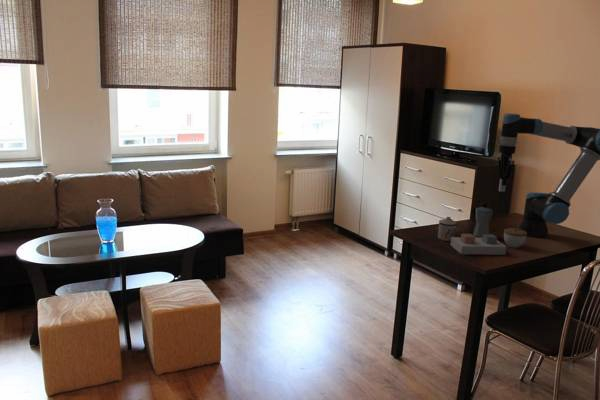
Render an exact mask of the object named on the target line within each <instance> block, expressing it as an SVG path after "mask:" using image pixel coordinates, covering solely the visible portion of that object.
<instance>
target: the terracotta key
mask: <svg viewBox="0 0 600 400" xmlns="http://www.w3.org/2000/svg"><path fill="white" fill-rule="evenodd" d="M460 237H461V241H462V242H463V243H464V244H475V238H476V236H473V234H472V233H461V234H460Z"/></svg>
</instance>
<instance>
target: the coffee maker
mask: <svg viewBox="0 0 600 400" xmlns="http://www.w3.org/2000/svg"><path fill="white" fill-rule="evenodd" d="M487 206H488V203H487V202H483V203H482V206H474V207H473V208H472V214H473V217H474V221H476V222H475V225H474V228H473V229H474V230H473V232H472V233H473V234H472V235H473V236H475V238H483V234H490V224H489V223H490V222H491V219H492V215H493V212H494V210H493V209H491V208H488V207H487Z"/></svg>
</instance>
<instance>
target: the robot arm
mask: <svg viewBox="0 0 600 400" xmlns="http://www.w3.org/2000/svg"><path fill="white" fill-rule="evenodd" d="M519 134H526V135H533V136H537V137H543V138H547V139H551V140H552V139H553V140H557V141H563V142H565V143H566V144H568V145H572V146H575V147H578V148H579V149H580V153H579V155H578V156H577V158H576V159H575V161H574V162H573V163H572V165H571V166H570V168H569V169H568V171H567V172H566V174H565V175H564V177H563V178H562V179H561V181H560V182H559V184H558V185H557V187H556V188H555V190H553V192H552V191H551V192H547V193H546V192H528V193H526V197H525V203H524V208H523V209H524V210H523V211H524V212H523V216H522V217H523V218H522V220H521V222H520V224H519V226H518V228H517V229H520V230H523V231H526V232H527V235H526V237H531V238H547V237H548V235H549V229H548V226H547V225H548V224H552V225H559V224H562V223H563V222H565V221H566V220H567V219H568V218H569V216H570V207H571V205H572V203H571V200H572V198H573V196H574V195H575V193H576V192H577V191H578V189H579V188H580V186H581V185H582V183H583V182H584V181H585V179H586V178H587V176H588V175H589V174H590V172H591V171H592V169H593V167H595V165H596V163H597V162H598V161H600V128H599V127H591V126H590V127H589V126H575V125H570V126H566V125H561V124H557V123H556V124H555V123H552V122H551V123H550V122H546V121H543V120H542V119H540V118H530V117H529V118H528V117H523V116H521V115H520V114H519V113H505V114H504V115H503V118H502V126H501V134H500V141H499V142H500V143H499V144H500V145H499V147H498V148H499V149H498V152H499V153H501V154H500V156H498V157H497V161H498V163H497V169H498V170H497V176H498V177H499V185H498V192H501V193H502V192H505V193H506V188H507V187H506V186H507V180H508V179H510V177H511V174H512V169H513V165H514V164H515V160H513V155H514V154H515V153H516V150H517V149H516V148H517V146H516V145H517V140H518V136H519Z"/></svg>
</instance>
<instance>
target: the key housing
mask: <svg viewBox="0 0 600 400" xmlns="http://www.w3.org/2000/svg"><path fill="white" fill-rule="evenodd" d="M450 246H452V247H451V248H454V249H455V250H456V251H457V252H458V253H459V254H460V255H495V256H496V255H498V256H501V255H502V256H503V255H504V256H506V255H507V254H506V253H507V249H508V248H507V246H506V245H505V244H503V243H502V242H501V241H499V240H497V243H496V244H486V243H484V242H483V241H482V238H480V237H475V244H464V243H463V242H462V241H461V236H460V237H457V236H455V237H451V241H450Z"/></svg>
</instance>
